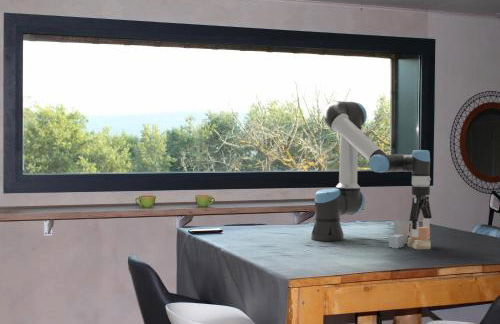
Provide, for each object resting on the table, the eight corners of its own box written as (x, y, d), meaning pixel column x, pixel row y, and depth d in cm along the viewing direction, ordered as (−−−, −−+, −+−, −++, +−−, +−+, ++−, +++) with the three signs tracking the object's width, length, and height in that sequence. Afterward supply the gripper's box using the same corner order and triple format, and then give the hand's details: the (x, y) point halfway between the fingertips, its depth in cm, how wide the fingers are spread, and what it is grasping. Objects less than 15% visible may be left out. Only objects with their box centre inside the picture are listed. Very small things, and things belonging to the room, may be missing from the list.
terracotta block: (410, 238, 291) (411, 227, 290) (414, 237, 294) (414, 226, 294) (426, 240, 287) (426, 228, 287) (429, 239, 290) (430, 227, 290)
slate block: (397, 248, 288) (397, 236, 287) (388, 247, 290) (388, 236, 290) (403, 246, 293) (403, 235, 293) (395, 245, 296) (395, 234, 295)
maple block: (407, 246, 294) (407, 237, 294) (420, 246, 295) (420, 237, 295) (417, 250, 285) (417, 241, 284) (430, 249, 286) (430, 240, 286)
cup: (411, 244, 298) (411, 222, 298) (393, 244, 300) (393, 221, 299) (411, 242, 306) (411, 220, 306) (392, 241, 307) (393, 219, 307)
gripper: (419, 187, 278) (418, 239, 278) (438, 184, 298) (438, 232, 299) (401, 187, 282) (401, 237, 282) (422, 184, 302) (422, 231, 303)
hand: (420, 235), depth 291 cm, fingers open, 13 cm apart
